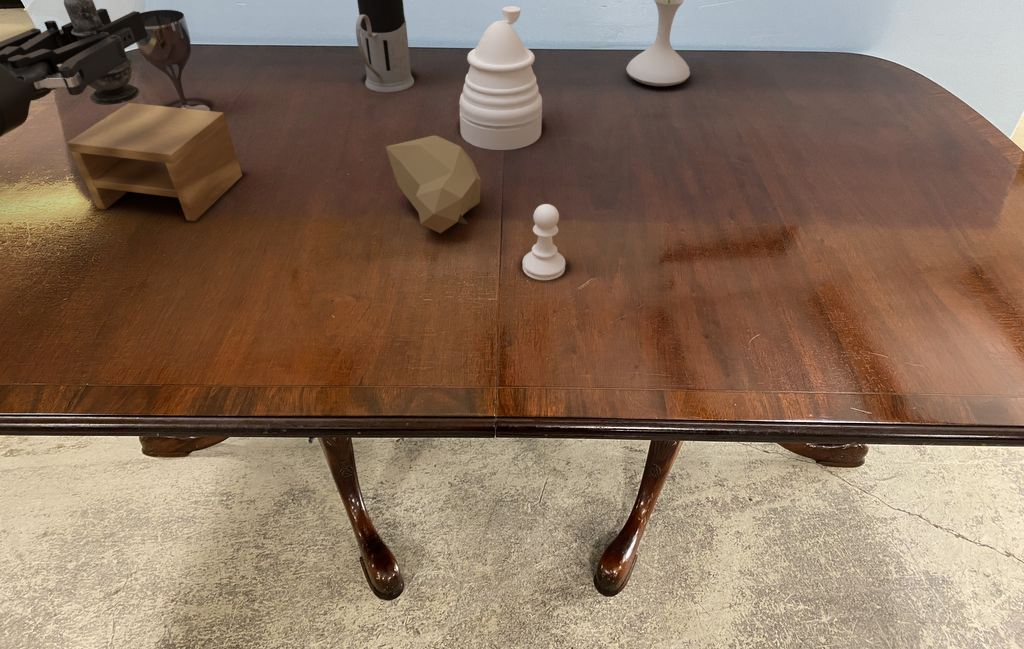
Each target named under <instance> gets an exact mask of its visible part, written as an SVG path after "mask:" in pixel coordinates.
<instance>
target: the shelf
mask: <svg viewBox="0 0 1024 649" xmlns="http://www.w3.org/2000/svg"><path fill="white" fill-rule="evenodd" d="M66 144H67V146H68V148H69V151H70V152H71V154H72V157H73V159H74V161H75V163H76V165H77V168H78V170H79V172H80V174H81V176H82V178H83V180H84V182H85V184H86V186H87V189H88V191H89V193H90V195H91V197H92V199H93V201H94V203H95V206H96V208H97V209H100V210H107V209H108V208H109V207H111V206H112V205H113V204H114V203H115V202H117V201H118V200H119V199H121V198H122V197H124V195H125V194H127V193H129V192H130V193H138V194H146V195H152V196H153V195H154V196H160V197H161V196H162V197H163V196H164V197H168V198H169V197H170V198H178V201H179V204H180V206H181V209H182V212H183V214H184V217H185V220H186V221H189V222H196V221H197V220H198V219H199V218H200V217H201V216H202V215H203V214H204V213H205V212H206V211H207V210H208V209H210V207H211V206H212V205H213V204H215V202H216V201H218V200H219V199H220V198H221V197H222V196H223V195H224V194H225V193H226V192H227V191H228V190H229V189H230V188H231V187H232V186H233V185H234V184H235V183H236V182H237V181H238V180H240V178H241V177H243V174H242V170H241V167H240V163H239V160H238V156H237V153H236V149H235V146H234V142H233V139H232V136H231V132H230V129H229V126H228V122H227V118H226V115H225V112H221V111H212V110H210V111H204V110H194V109H184V108H175V107H173V106H164V105H156V104H145V103H135V102H128V103H126V104H125V105H123V106H121V107H120V108H118V109H117V110H116V111H114V112H112V113H110V114H109V115H108V116H106V117H104V118H103V119H101V120H100V121H98V122H97V123H95V124H93V125H92V126H91V127H89V128H88V129H86V130H84V131H83V132H81V133H80V134H78V135H76V136H75V137H74V138H72V139H70V140H68V141H67V142H66Z"/></svg>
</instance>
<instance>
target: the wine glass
mask: <svg viewBox="0 0 1024 649" xmlns="http://www.w3.org/2000/svg"><path fill="white" fill-rule="evenodd" d="M140 15H141V18H142V21H143V23H144V26H145V29H146V32H147V35H148V36H147V37H145V38H144V39H142V40H140V41H138V42H136V43H135V44H136V47H137V48H138V50H139V52H140V53H141V55H142V56H143V58H144V59H145V60H146V61H147V62H148V63H150V64H151V65H152V66H153V67H155V68H157V70H159V71H161V72H162V73H163V74H165V75H166V77H168V78H169V79H170V81H171V82H172V84H173V86H174V88H175V90H176V92H177V94H178V97H179V100H180V103H181V105H179V106H176V107H175V108H184V109H194V110H204V111H211V108H210V106H209V107H208V106H207V105H204V104H200V103H189V104H188V102H187V99H186V97H185V94H184V89H183V84H182V74H183V71H184V68H185V66H186V64H187V63H188V61H189V59H190V56H191V53H192V52H191V51H192V50H191V49H192V48H191V46H192V45H191V36H190V31H189V27H188V23H187V19H186V16H185V14H184V13H183V12H182V11H179V10H174V9H154V10H148V11H143V12H140Z"/></svg>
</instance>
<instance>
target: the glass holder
mask: <svg viewBox="0 0 1024 649" xmlns="http://www.w3.org/2000/svg"><path fill="white" fill-rule="evenodd" d="M357 8H358V17H357V19H356V22H355V36H356V41H357V47H358V51H359V55H360V57H361V59H362V62H363V63H364V66H365V74H366V80H365V81H364V82H365V87H366V88H367V89H368V90H370V91H373V92H377V93H398V92H402V91H405V90H408V89H411V87H413V85H414V84H415V79H414V77H413V76H412V72H411V60H410V59H411V58H410V49H409V39H408V30H407V21H406V16H405V8H404V0H357Z"/></svg>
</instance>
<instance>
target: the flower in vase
mask: <svg viewBox="0 0 1024 649" xmlns="http://www.w3.org/2000/svg"><path fill="white" fill-rule="evenodd" d="M653 1H654V3H655V5H656V8H657V13H658V24H657V32H656V37H655V40H654V42H653V43H652V44H651V46H649V47H648V48H647V49H645V50H643V51H642V52H640V53H638V55H636V56H634V57H633V58H632V59H631V60H630V61H629V62H628V63H627V66H626V68H625V70H626V73H627V74H628V76H629V77H630V78H631V79H632V80H634V81H636V82H638V83H640V84H644V85H647V86H652V87H669V86H674V85H675V86H676V85H679V84H682V83H684V82H685V81H686V80H688V78H689V77H690V75H691V72H690V71H691V70H690V67H689V64H688V63H687V62H686V61H685V60H684V58H683V57H682V56H681V55H680V54H679V53H678V52H677V51H676V50H675V49H674V48H673V47H672V45H671V38H670V37H671V31H672V26H673V22H674V18H675V16H676V13H677V11H678V9H679V8H680V7H681V6H682V4H683V3H684V2H685V0H653Z"/></svg>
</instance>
